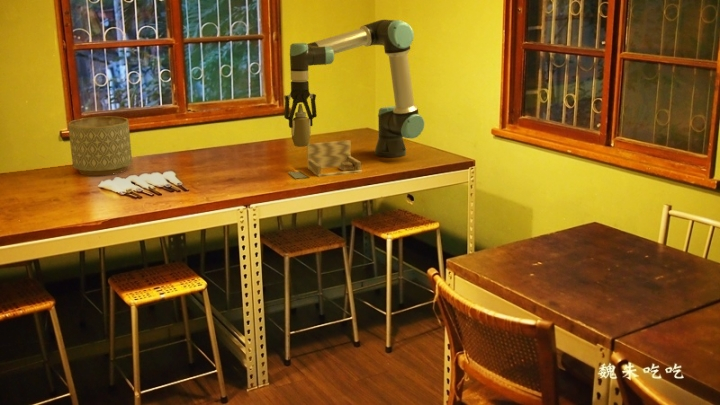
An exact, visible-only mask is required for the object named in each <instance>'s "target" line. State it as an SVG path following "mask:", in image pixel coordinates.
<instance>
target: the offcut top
mask: <svg viewBox="0 0 720 405" xmlns="http://www.w3.org/2000/svg"><path fill="white" fill-rule="evenodd" d="M341 166H342V167H343V168H350V167H353V164H352V163H351V162H341Z"/></svg>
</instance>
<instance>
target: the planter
mask: <svg viewBox="0 0 720 405" xmlns="http://www.w3.org/2000/svg"><path fill="white" fill-rule="evenodd" d="M67 126H68V135H69V142H70V152H71V161H72V162H71V163H72V167H73V168H74V169H75V170H79V174H81V173H82V174H81V175H83V174H86V175H85V176H89V175H104V176H108V175H107V174H112V175H114V174H113V173H117V174H119V173H118V172H121V171H123V172H125V171H126V170H128V169H127V168H128V166H130V165H131V164H132V163H133V156H132V146H131V145H132V144H131V136H130V135H131V134H130V123H129V119H128V118H127V117H126V118H125V117H122V116H121V117H120V116H92V117H91V116H90V117H84V118H78V119H74V120H71V121H69V122H68V123H67ZM124 170H125V171H124ZM121 173H122V172H121Z"/></svg>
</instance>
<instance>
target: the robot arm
mask: <svg viewBox="0 0 720 405" xmlns="http://www.w3.org/2000/svg"><path fill="white" fill-rule="evenodd" d="M414 36H415V33H414V30H413V28H412V27H411V25H410V24H409V23H408V22H405V21H403V20H398V19H397V20H394V19H379V20H377V21H373V22H370V23H367V24H363V25H361V26H360V27H359V29H354V30H351V31H348V32H344V33H340V34H337V35H334V36H330V37H327V38H323V39H320V40H316V41H313V42H310V43H306V42H297V43H296V42H294V43H291V44H290V46H289V60H290V61H289V62H290V64H289V66H290V93H289V94H288V95H287V94H285V95H284V96H283V98H284V114H283V115H284V119H285V120H288V127H289V129H290V130H291V134H290V135H291V136H292V135H293V136H294V127H295V121H294V120H293V118H295V113H296V109H297V106H298V105H299V104H302V105H303V106H304V109H305V112H306V116H307V118H308V122H309V130H310V135H311V134H312V133H311V131H312V130H311V127H313V119H314V118H317V105H316V97H317V94H315V93H311V92H310V91H309V90H310V88H309V87H310V86H309V85H310V84H309V66H323V65H324V66H326V65H331V64H333V62H334V61H335V55H337V54H340V53H342V52H345V51H349V50H353V49H356V48H359V47H362V46H364V47H372V46H383V50H384V54H386V55H387V56H388V60H389V61H388V62H389V69H390V74H391V83H392V90H393V98H394V104H395V106H383V107H380V108H379V109H378V115H377V117H378V139H377V143H376V145H375V148H374V155H376V156H378V157H381V158H382V157H383V158H399V157H403V156H406V155H407V147H406V144H405V141H404V138H405V139H409V140H410V139H411V140H412V139H416V138H418V137H419V136H420V135H421V134H422V132H423V131H424V129H425V120H424V118H423V116H422V115H420V114H419V107H418V106H417V105H416V104H415V102H414V95H413V86H412V78H411V76H412V75H411V70H410V63H409V52H410V51H411V45H412V43H413V41H414ZM309 98H310V105H311V107H310V105H309V101H308V99H309ZM291 99H292V105H291V108H290V100H291Z"/></svg>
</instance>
